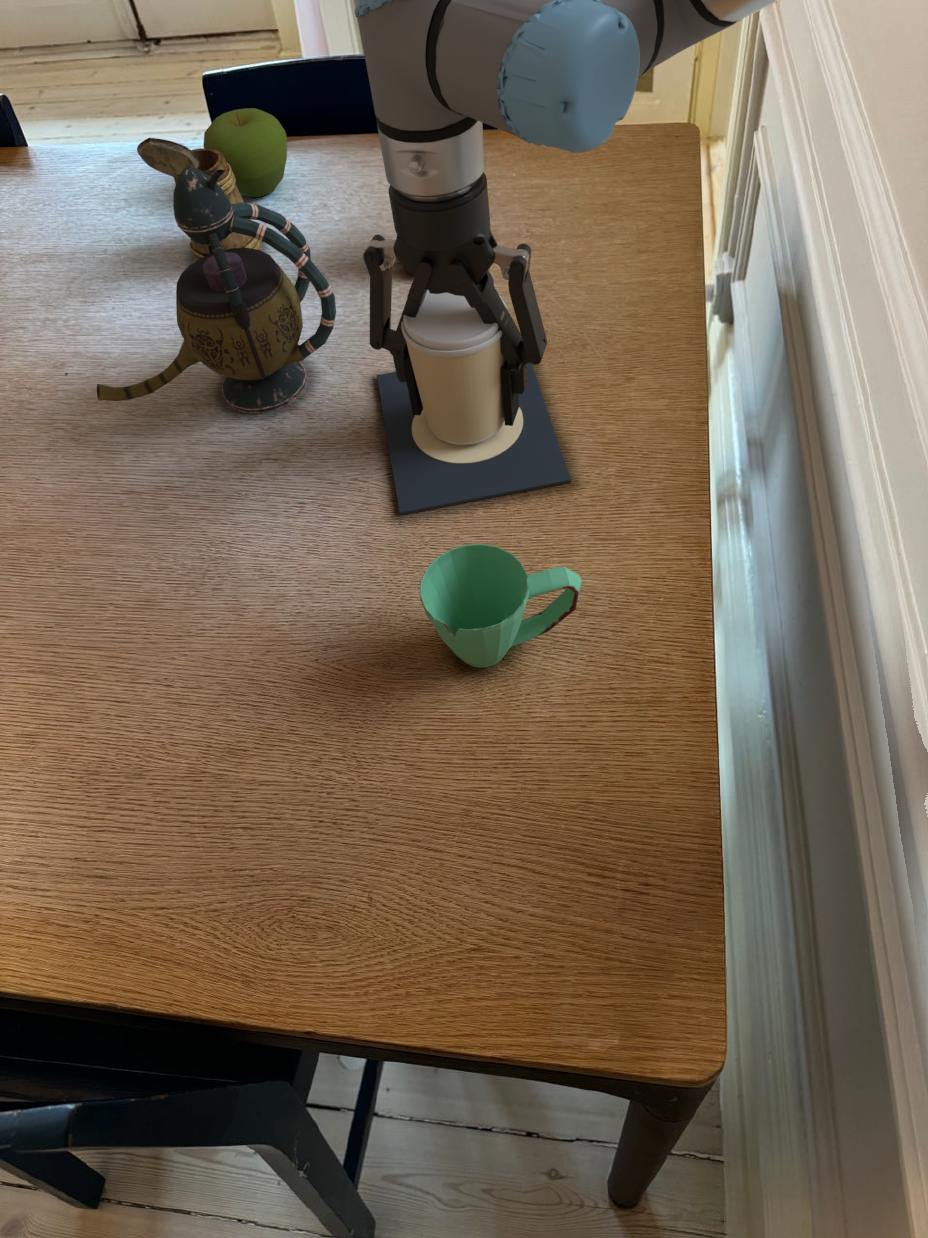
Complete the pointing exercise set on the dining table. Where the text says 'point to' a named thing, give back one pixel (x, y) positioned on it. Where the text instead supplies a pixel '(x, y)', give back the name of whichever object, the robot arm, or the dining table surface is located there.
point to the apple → (250, 148)
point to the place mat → (468, 453)
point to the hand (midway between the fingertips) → (465, 410)
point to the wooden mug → (208, 160)
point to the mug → (491, 601)
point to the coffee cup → (456, 368)
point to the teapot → (240, 302)
